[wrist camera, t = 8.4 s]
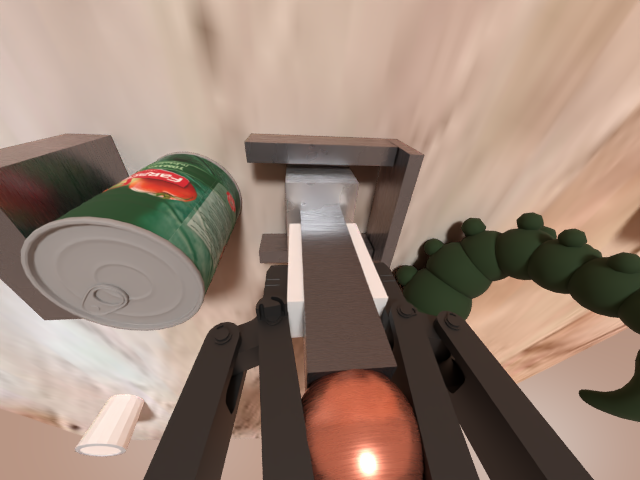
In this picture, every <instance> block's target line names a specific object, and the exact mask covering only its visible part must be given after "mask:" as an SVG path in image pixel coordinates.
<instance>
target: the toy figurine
mask: <svg viewBox="0 0 640 480" xmlns="http://www.w3.org/2000/svg"><path fill="white" fill-rule="evenodd" d="M517 226H518V229H511V230H508V231H506V232H504V233H499V232H497V231H485V229H486V226H485V225H484V223H483V222H482V221H481V220H480V219H479V218H469V219H467V220H466V221H464V223H463V225H462V226H461V229H462V231H463V232H464V234H465V236H466V237H465V238H464V239H463V240H462V241H461V242H451V243H448V244H445V245H444V244H443V243H442V242H441V241H439V240H437V239H431V240H428V241H427V242H426V243H425V245H424V249H425V253H426V254H428V255H430V257H429V259H428V260H427V265H426V268H424V269H421V270H419V271H417V269H416V268H415V267H413V266H408V265H403V266H402V267H401V268H399V269H398V271H397V273H396V276H397V280H398V283H400V284H401V285H402V286H404V289H403V295H404V297H405V299H406V301H407V302H408V303H410V304H412V305H413V306H414V307H415V308H416V309H417V310H418V311H419V312H421V313H425V314H429V315H433V316H437V315H438V314H439V313H440V312H442V311H450V312H453V313H456V314H457V315H459V316H461V317H462V318H463V319H464V320H466V319H467V317H468V316H469V314H470V311H471V307H472V299H473V298H476V297H478V296H480V295H481V294H483V293H484V292H485V291H486V290H487V289H488V288H489V286H490V285H491V283H492V281H497V280H501V279H504V278H506V277H508V276H510V277H513V278H516V279H521V280H533V281H534V282H535V283H537V284H538V285H539V286H541V287H543V288H545V289H547V290H550V291H553V292H556V293H563V294H570V295H571V296H572V298H573V299H574V300H576V301H577V302H578V303H579V304H580V305H581V306H582V307H584V308H586V309H588V310H590V311H593V312H595V313H597V314H600V315H605V316H609V317H616V318H620V319H621V321H622V322H623V323H624V324H625V325H626V326H628V327H629V328H630V329H632V330H633V331H634V332H636V333H638V334H640V257H639V256H638V255H636V254H631V253H625V252H622V253H619V254H616V255H613V256H610V257H602V254H601V252H599V251H598V250H596V249H594V248H593V247H591V246H590V245H588V244H586V243H587V239H586V236H585V233H584V232H582V231H580V230H577V229H568V230H564V231H563V232H562V233H560V234H559V235H558V239H556V237H557V236H556V232H555V230H553V229H551V228H548V227H545V226H544V222H543V218H542V216H541V215H538V214H536V213H525V214H523V215H521V216H520V217H519V218H518V219H517ZM579 396H580V397H581V398H582V400H583V401H585V402H586V403H588V404H589V405H591V406H593V407H594V408H596V409H599V410H601V411H603V412H606V413H609V414H611V415H614V416H617V417H620V418H624V419H628V420H633V421H638V422H640V350H639V351H638V353H637V357H636V360H635V373H634V376H633V377H632V379H631V380H630V382H629V383H627V384H626V385H625V386H624V387H622V388H621V389H618V390H615V391H609V392H599V391H592V390H580V391H579Z"/></svg>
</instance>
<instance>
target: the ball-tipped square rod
mask: <svg viewBox="0 0 640 480" xmlns="http://www.w3.org/2000/svg"><path fill="white" fill-rule="evenodd" d="M358 188H359V183H358V181H357V179H356V178H355V176H354V175H353V173H352V171H351V170H350V168H349V167H348V165H325V164H287V169H286V180H285V190H286V216H287V243H288V254H289V224H301V239H302V262H303V285H304V337H303V338H304V367H305V393H304V395H303V397H302V399H301V401H302V407H303V413H304V419H305V426H306V434H307V442H308V446H309V451H310V457H311V463H312V469H313V476H314V480H423V479H424V461H423V450H422V443H421V437H420V432H419V428H418V424H417V421H416V417H415V414H414V412H413V409H412V407H411V405H410V403H409V401H408V399H407V398H406V397H405V395H404V394H403V392H402V391H401V390H400V389H399V388H398V386H397V385H396V384H395V383H394V382H393V381H392V380H391V378H392V376H393V374H394V372H395V370H396V368H397V364H396V361H395V358H394V355H393V353H392V350H391V347H390V344H389V341H388V339H387V336H386V333H385V330H384V328H383V325H382V322H381V319H380V316H379V314H378V311H377V308H376V305H375V303H374V300H373V297H372V294H371V291H370V289H369V286H368V283H367V280H366V278H365V275H364V272H363V269H362V267H361V264H360V261H359V258H358V255H357V253H356V250H355V247H354V244H353V242H352V239H351V236H350V233H349V230H348V228H347V225H346V223H353V220H354V214H355V207H356V201H357V195H358Z"/></svg>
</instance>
